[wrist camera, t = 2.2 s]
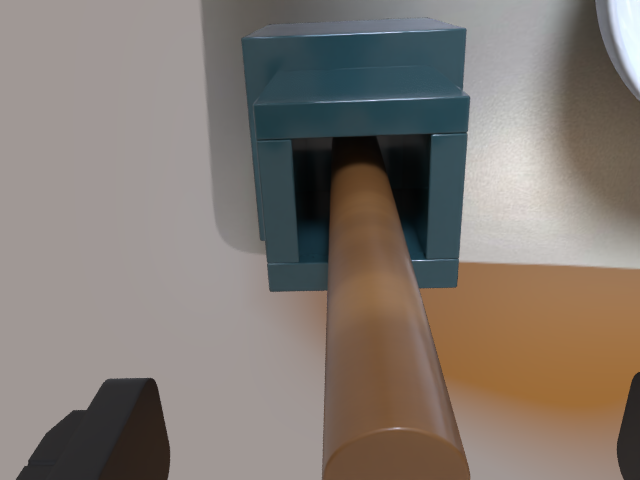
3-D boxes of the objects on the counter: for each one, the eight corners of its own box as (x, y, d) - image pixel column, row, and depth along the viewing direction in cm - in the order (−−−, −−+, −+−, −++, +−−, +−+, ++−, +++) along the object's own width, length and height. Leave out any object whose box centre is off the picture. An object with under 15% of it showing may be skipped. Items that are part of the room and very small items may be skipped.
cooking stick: (331, 121, 26) (318, 429, 8) (377, 120, 26) (476, 428, 8) (332, 166, 27) (324, 537, 9) (377, 165, 27) (466, 536, 9)
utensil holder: (268, 24, 35) (200, 57, 17) (428, 17, 34) (524, 44, 17) (279, 176, 39) (234, 327, 21) (422, 172, 38) (494, 321, 21)
